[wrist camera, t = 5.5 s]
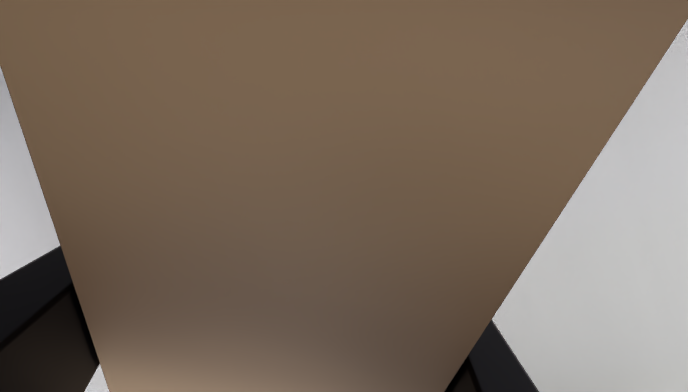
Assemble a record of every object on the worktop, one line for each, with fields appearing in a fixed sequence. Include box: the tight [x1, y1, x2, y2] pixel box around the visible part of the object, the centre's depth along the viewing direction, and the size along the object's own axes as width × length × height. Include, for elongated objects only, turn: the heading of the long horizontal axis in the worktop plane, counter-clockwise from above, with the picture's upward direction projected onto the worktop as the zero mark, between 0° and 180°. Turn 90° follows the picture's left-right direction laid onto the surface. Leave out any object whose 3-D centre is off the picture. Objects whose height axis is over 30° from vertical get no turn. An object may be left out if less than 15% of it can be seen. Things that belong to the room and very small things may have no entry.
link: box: [0, 0, 688, 392], centre depth 9 cm, size 18×6×3 cm, turn 170°
